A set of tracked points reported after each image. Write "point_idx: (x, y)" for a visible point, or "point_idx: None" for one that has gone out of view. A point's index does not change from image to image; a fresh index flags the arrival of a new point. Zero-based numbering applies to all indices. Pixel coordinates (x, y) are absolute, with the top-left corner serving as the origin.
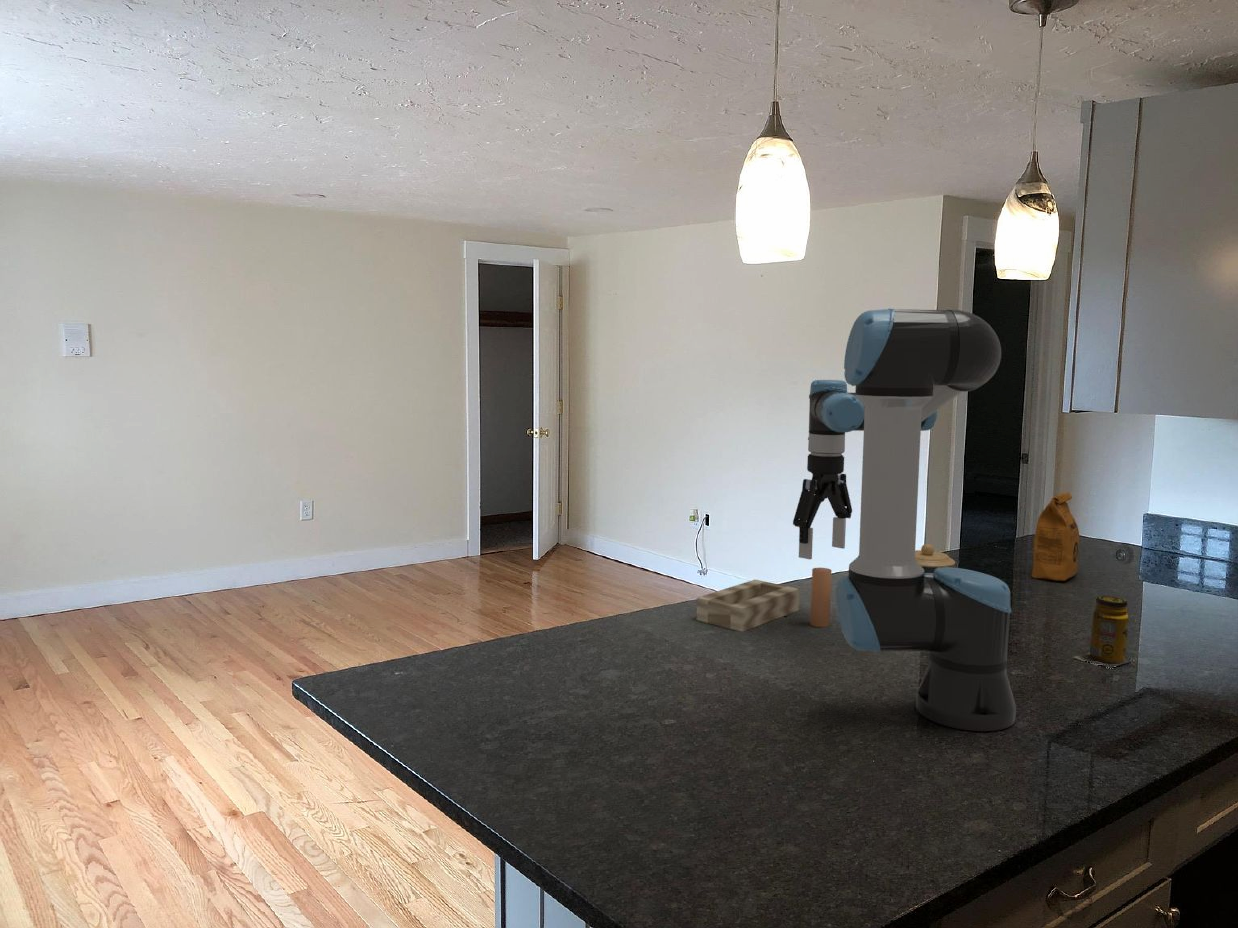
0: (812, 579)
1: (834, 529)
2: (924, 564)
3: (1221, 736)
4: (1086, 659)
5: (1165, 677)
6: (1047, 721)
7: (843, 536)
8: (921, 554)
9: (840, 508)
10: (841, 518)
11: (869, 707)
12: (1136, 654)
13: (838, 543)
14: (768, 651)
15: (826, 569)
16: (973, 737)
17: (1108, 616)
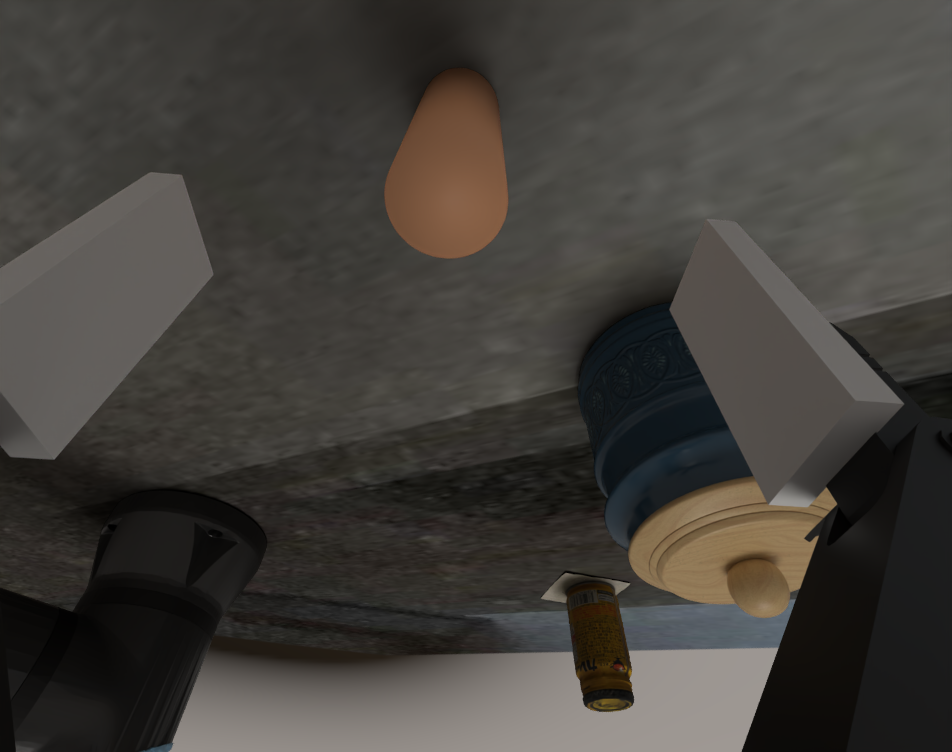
0: (407, 136)
1: (765, 324)
2: (633, 560)
3: (383, 653)
4: (569, 580)
5: (548, 625)
6: (270, 582)
7: (701, 369)
8: (738, 557)
9: (792, 631)
10: (813, 476)
11: None
12: (639, 606)
13: (696, 292)
14: (24, 115)
15: (475, 220)
16: None
17: (578, 675)
